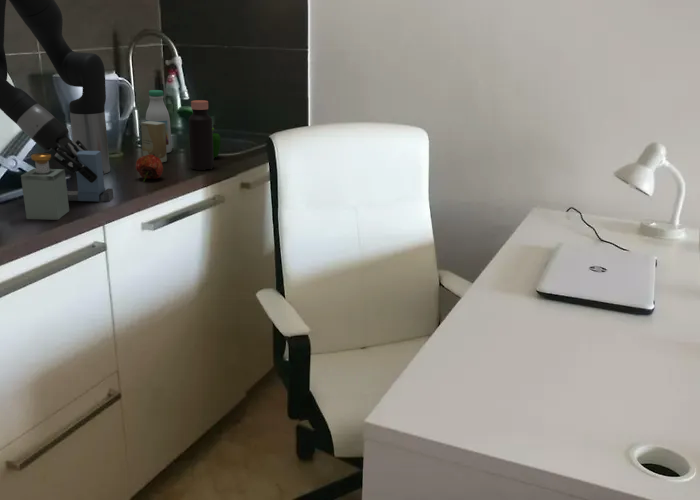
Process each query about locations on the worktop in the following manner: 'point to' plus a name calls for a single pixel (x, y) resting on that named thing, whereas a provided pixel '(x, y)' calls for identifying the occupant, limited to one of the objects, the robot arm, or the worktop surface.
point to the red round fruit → (149, 167)
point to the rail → (104, 196)
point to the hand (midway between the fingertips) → (98, 177)
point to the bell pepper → (216, 144)
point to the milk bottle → (159, 114)
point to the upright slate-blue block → (86, 188)
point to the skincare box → (154, 139)
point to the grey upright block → (45, 194)
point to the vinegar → (201, 136)
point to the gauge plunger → (42, 162)
